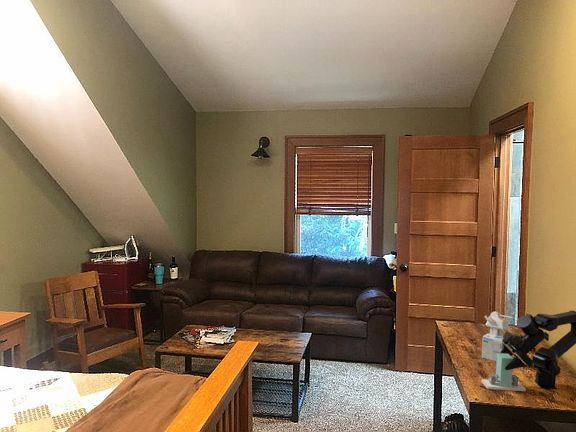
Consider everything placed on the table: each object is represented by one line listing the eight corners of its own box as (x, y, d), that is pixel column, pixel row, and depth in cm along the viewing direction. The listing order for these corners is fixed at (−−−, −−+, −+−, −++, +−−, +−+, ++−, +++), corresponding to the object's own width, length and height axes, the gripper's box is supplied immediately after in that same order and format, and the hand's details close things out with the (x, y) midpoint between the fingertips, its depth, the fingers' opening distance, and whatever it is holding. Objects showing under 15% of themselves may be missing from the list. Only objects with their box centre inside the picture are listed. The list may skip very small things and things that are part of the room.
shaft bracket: (518, 383, 195) (519, 373, 195) (525, 391, 188) (526, 380, 188) (481, 381, 196) (482, 371, 196) (487, 388, 189) (488, 378, 189)
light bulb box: (509, 360, 221) (510, 338, 220) (504, 364, 216) (505, 341, 215) (486, 354, 228) (487, 332, 227) (480, 357, 223) (482, 335, 222)
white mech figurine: (506, 353, 229) (509, 317, 228) (479, 346, 238) (481, 312, 237) (514, 347, 238) (516, 313, 237) (487, 340, 247) (489, 307, 246)
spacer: (506, 381, 195) (508, 353, 194) (511, 387, 189) (513, 358, 188) (495, 380, 195) (497, 353, 194) (500, 386, 190) (501, 357, 189)
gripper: (508, 319, 199) (480, 342, 201) (527, 333, 181) (496, 359, 182) (525, 337, 199) (497, 361, 201) (546, 354, 181) (515, 380, 182)
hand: (501, 364), depth 192 cm, fingers open, 9 cm apart
